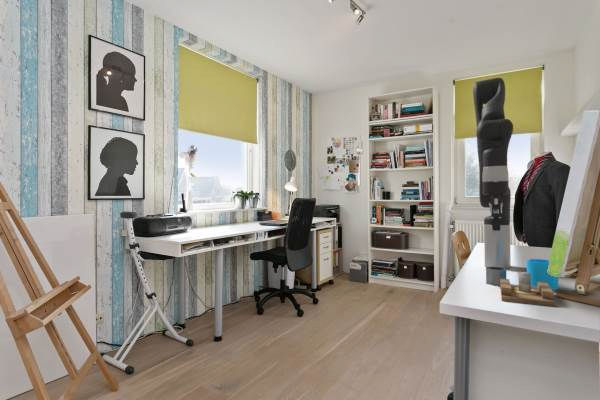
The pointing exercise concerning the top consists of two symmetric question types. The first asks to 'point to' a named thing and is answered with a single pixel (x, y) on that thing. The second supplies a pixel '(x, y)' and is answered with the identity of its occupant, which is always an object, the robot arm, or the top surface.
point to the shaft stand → (527, 291)
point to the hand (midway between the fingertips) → (496, 229)
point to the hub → (495, 275)
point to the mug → (541, 273)
